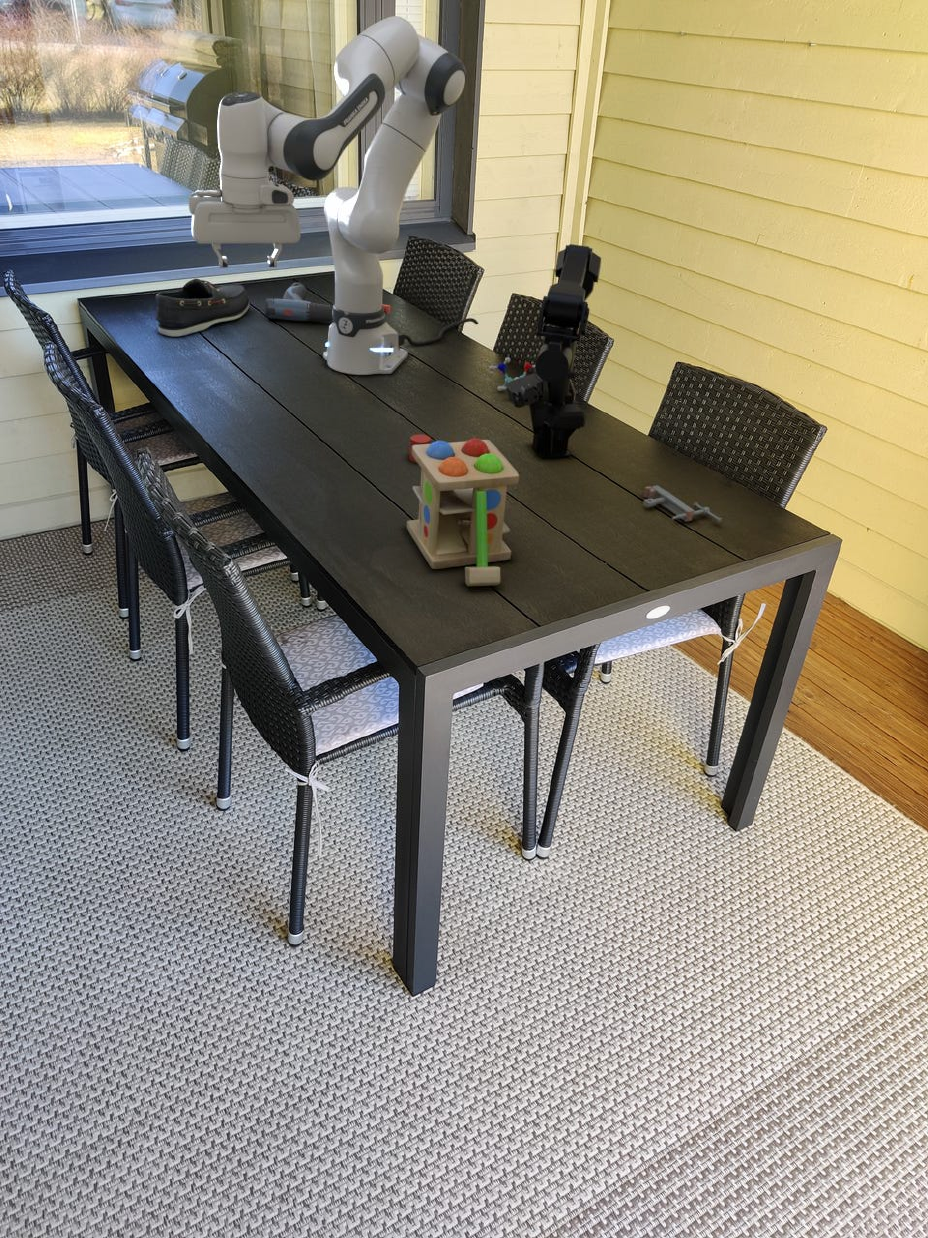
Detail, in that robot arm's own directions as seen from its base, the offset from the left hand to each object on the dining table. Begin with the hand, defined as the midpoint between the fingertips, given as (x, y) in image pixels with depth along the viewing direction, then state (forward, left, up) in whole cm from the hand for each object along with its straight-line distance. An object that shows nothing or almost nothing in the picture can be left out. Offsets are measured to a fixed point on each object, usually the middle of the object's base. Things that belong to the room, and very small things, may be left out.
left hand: (248, 266), depth 191 cm
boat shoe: (-44, -46, -31) cm, 71 cm away
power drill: (-65, -29, -31) cm, 78 cm away
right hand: (-2, +64, -21) cm, 68 cm away
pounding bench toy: (+28, +63, -31) cm, 76 cm away
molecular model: (-46, +40, -31) cm, 68 cm away
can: (-1, +39, -31) cm, 50 cm away
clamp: (-9, +90, -31) cm, 96 cm away
